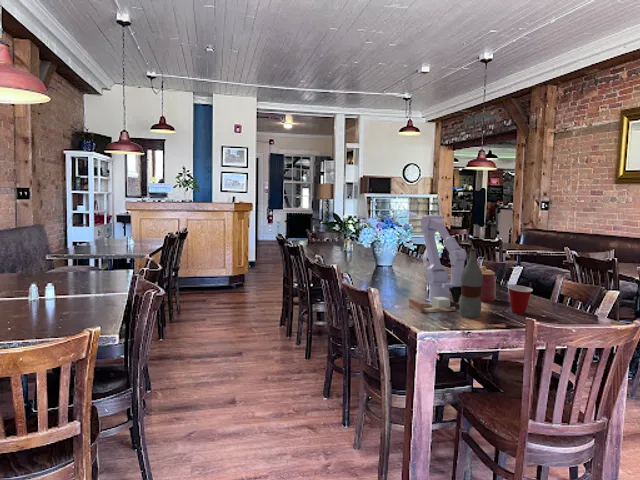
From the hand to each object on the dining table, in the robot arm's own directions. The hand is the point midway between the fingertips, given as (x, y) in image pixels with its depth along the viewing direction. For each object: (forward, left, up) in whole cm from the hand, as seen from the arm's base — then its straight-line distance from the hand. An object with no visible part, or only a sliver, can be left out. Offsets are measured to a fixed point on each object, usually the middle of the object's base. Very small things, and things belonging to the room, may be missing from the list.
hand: (455, 302), depth 225 cm
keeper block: (+8, 0, -3) cm, 8 cm away
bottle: (+3, +16, -3) cm, 17 cm away
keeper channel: (+13, 0, -2) cm, 13 cm away
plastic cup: (-23, +16, -3) cm, 28 cm away
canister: (-25, -14, -3) cm, 29 cm away
